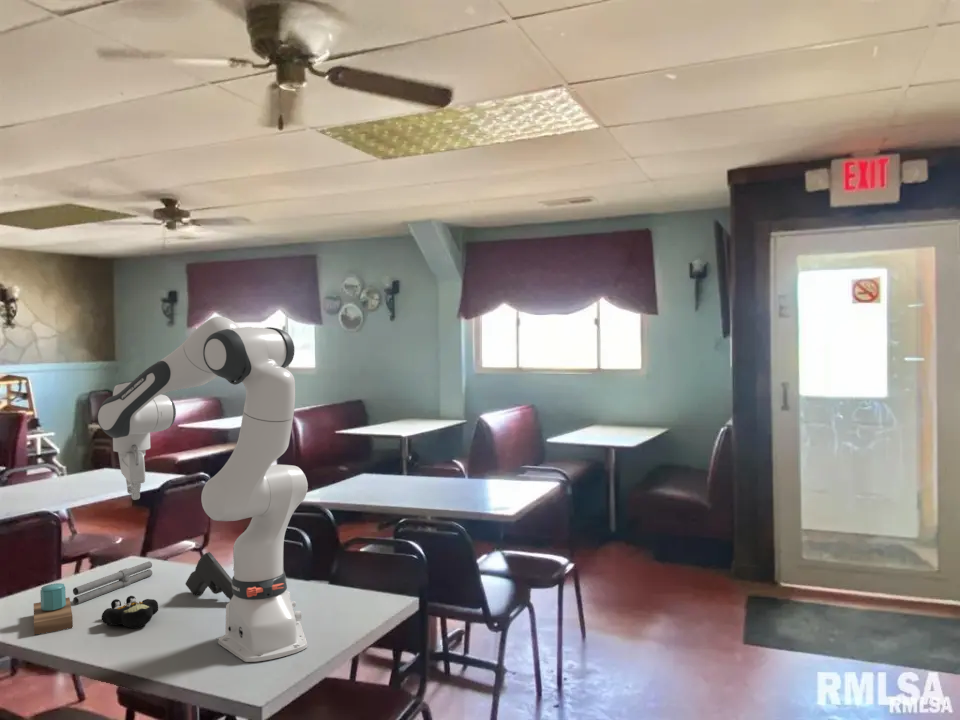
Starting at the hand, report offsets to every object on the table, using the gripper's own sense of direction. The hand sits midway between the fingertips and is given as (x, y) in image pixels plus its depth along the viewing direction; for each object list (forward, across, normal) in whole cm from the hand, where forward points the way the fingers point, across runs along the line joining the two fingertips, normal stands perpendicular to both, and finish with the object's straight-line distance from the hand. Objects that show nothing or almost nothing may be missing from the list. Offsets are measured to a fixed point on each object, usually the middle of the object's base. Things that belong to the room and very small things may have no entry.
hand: (133, 496), depth 192 cm
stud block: (+29, +1, +19) cm, 35 cm away
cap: (+26, +2, +19) cm, 32 cm away
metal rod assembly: (+30, +20, +3) cm, 36 cm away
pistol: (+30, -5, -19) cm, 35 cm away
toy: (+30, -11, +2) cm, 32 cm away
